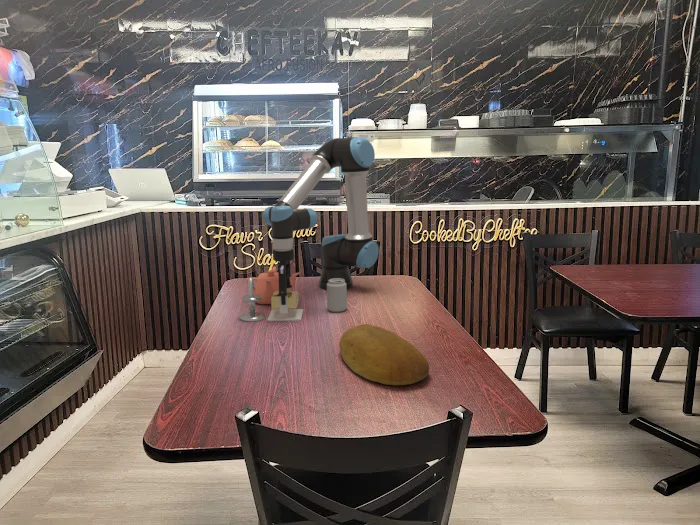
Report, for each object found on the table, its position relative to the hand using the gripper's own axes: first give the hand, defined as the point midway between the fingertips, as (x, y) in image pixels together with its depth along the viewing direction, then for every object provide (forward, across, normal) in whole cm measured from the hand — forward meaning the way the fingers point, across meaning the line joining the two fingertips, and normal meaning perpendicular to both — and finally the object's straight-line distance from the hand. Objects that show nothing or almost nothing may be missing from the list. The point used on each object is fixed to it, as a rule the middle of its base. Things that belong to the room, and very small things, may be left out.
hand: (285, 308), depth 195 cm
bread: (+3, +47, +31) cm, 56 cm away
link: (-2, 0, 0) cm, 2 cm away
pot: (+3, -21, -7) cm, 22 cm away
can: (+3, -6, +19) cm, 20 cm away
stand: (+3, +2, -12) cm, 12 cm away
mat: (+3, 0, 0) cm, 3 cm away
